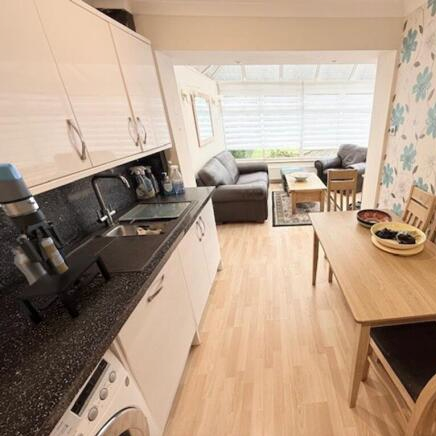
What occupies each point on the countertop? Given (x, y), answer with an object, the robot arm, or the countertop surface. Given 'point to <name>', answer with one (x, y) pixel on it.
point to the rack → (61, 286)
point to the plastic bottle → (27, 266)
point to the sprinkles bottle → (53, 255)
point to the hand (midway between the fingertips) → (59, 270)
